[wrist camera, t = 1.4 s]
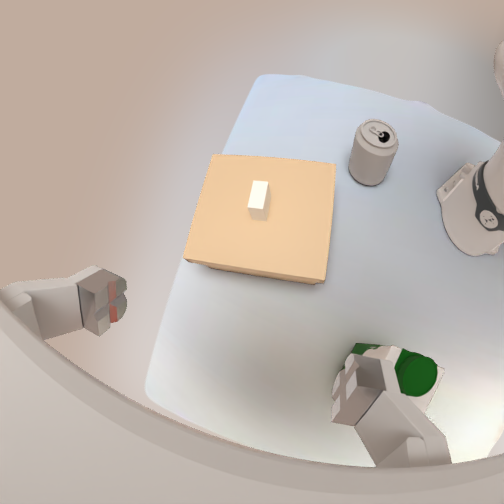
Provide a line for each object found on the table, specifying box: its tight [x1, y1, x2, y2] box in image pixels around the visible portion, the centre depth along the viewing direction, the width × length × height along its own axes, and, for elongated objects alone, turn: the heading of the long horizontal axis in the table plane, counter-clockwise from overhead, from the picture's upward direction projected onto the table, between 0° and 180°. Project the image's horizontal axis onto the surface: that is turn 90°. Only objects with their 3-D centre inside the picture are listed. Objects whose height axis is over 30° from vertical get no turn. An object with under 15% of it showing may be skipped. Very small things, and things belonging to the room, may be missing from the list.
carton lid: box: [183, 154, 336, 283], centre depth 37 cm, size 18×20×6 cm
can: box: [349, 119, 399, 186], centre depth 42 cm, size 8×8×12 cm
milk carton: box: [342, 343, 445, 414], centre depth 28 cm, size 9×9×20 cm
